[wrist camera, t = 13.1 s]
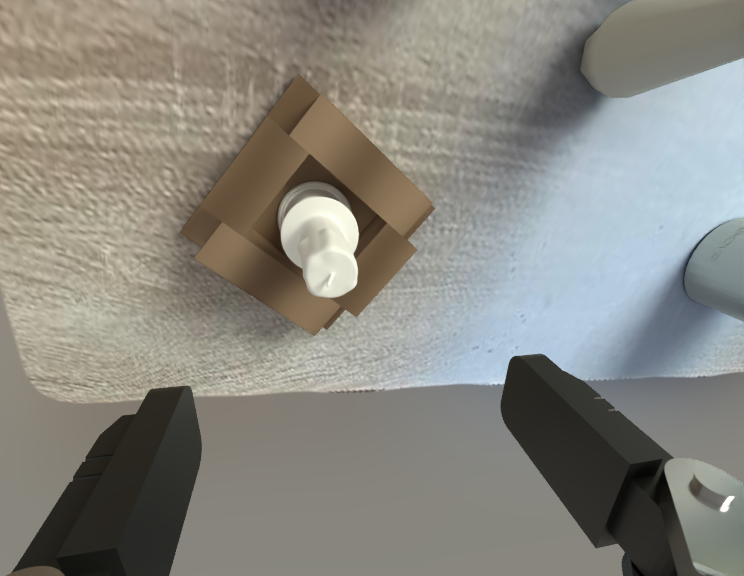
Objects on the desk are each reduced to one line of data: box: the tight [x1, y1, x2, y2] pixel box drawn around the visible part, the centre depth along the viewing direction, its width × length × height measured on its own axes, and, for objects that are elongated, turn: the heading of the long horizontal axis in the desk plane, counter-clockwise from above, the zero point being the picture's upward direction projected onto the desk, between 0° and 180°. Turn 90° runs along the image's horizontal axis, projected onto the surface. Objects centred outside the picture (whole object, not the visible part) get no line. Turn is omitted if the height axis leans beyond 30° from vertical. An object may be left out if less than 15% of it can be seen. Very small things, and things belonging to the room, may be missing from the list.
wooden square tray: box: [180, 74, 435, 336], centre depth 26 cm, size 13×13×4 cm
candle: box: [277, 181, 359, 298], centre depth 21 cm, size 5×5×12 cm
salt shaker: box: [580, 0, 744, 98], centre depth 21 cm, size 6×6×13 cm
